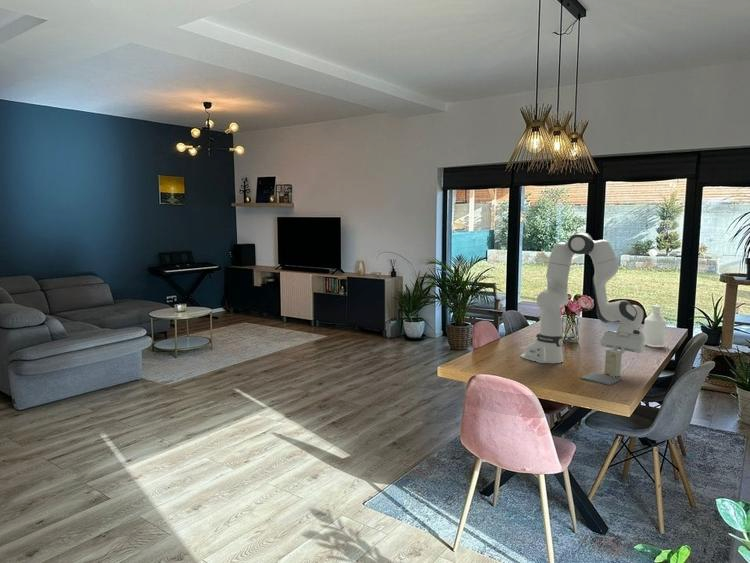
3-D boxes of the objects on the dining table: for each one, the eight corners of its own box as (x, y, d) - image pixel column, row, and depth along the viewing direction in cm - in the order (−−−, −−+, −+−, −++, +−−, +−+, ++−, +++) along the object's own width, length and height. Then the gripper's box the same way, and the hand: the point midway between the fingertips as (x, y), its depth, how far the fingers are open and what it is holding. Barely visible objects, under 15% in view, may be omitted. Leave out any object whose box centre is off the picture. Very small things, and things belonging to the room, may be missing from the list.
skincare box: (604, 373, 266) (605, 349, 265) (610, 372, 268) (611, 348, 267) (614, 377, 261) (615, 352, 259) (621, 376, 262) (622, 351, 261)
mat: (580, 378, 257) (580, 377, 257) (593, 373, 266) (594, 372, 266) (609, 385, 246) (609, 383, 246) (622, 380, 256) (622, 378, 256)
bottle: (659, 344, 339) (662, 304, 336) (667, 348, 327) (670, 307, 324) (639, 343, 340) (642, 304, 337) (647, 347, 328) (650, 306, 325)
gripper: (603, 326, 277) (594, 348, 271) (645, 333, 262) (636, 355, 257) (607, 334, 280) (597, 355, 275) (648, 340, 266) (639, 363, 260)
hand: (616, 355), depth 266 cm, fingers closed
